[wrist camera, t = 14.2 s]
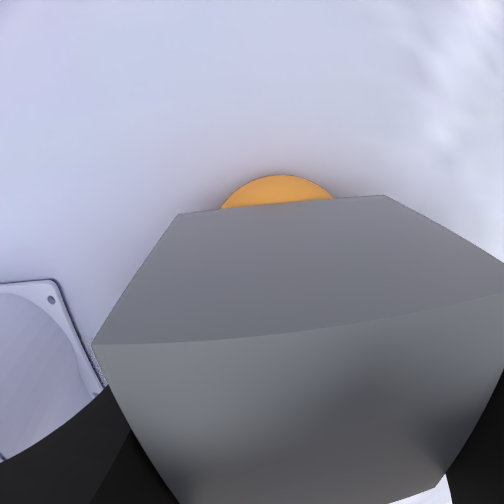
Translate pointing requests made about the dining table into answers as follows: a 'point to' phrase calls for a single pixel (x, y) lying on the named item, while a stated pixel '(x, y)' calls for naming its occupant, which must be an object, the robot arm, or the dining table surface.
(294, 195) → the ball
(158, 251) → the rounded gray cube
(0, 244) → the dining table surface
